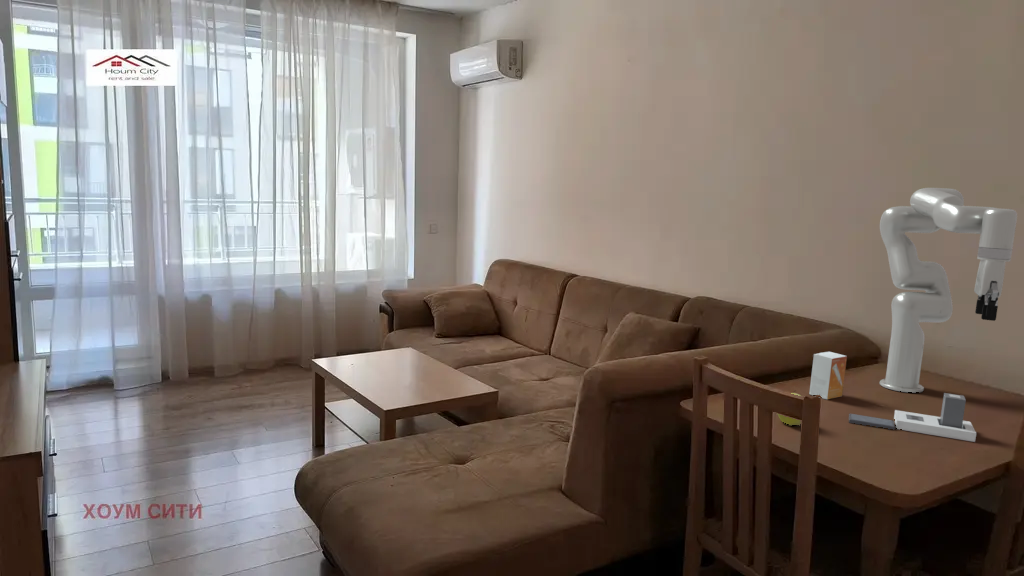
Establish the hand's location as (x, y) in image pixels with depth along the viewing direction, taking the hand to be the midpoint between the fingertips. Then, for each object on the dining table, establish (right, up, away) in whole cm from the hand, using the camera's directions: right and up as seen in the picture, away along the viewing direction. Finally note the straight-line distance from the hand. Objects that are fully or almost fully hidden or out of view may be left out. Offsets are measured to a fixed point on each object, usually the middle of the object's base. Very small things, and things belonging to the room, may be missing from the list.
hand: (985, 317), depth 190 cm
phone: (-30, -29, +1) cm, 42 cm away
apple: (-54, -29, -1) cm, 61 cm away
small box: (-32, -26, +26) cm, 48 cm away
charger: (-12, -31, -3) cm, 33 cm away
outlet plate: (-15, -30, -2) cm, 34 cm away
